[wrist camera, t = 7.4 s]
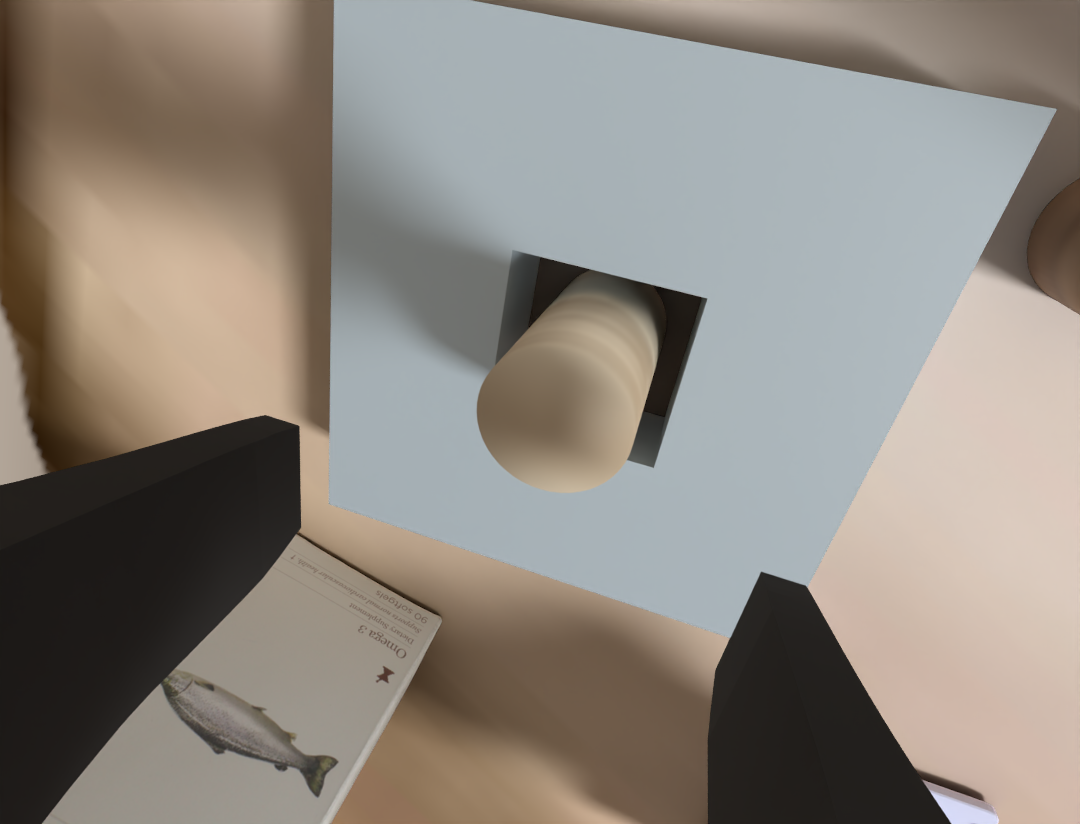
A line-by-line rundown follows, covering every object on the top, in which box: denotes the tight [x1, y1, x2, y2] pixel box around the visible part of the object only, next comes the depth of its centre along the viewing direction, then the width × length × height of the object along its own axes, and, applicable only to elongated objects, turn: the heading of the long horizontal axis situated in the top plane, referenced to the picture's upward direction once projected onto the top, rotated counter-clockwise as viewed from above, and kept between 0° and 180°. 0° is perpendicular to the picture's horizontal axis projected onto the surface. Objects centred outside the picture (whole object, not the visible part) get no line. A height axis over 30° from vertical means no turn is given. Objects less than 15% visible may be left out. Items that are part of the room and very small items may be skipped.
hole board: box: [329, 0, 1057, 638], centre depth 17 cm, size 14×14×3 cm
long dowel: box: [477, 270, 667, 493], centre depth 15 cm, size 3×3×6 cm
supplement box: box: [42, 534, 442, 824], centre depth 21 cm, size 7×7×13 cm
